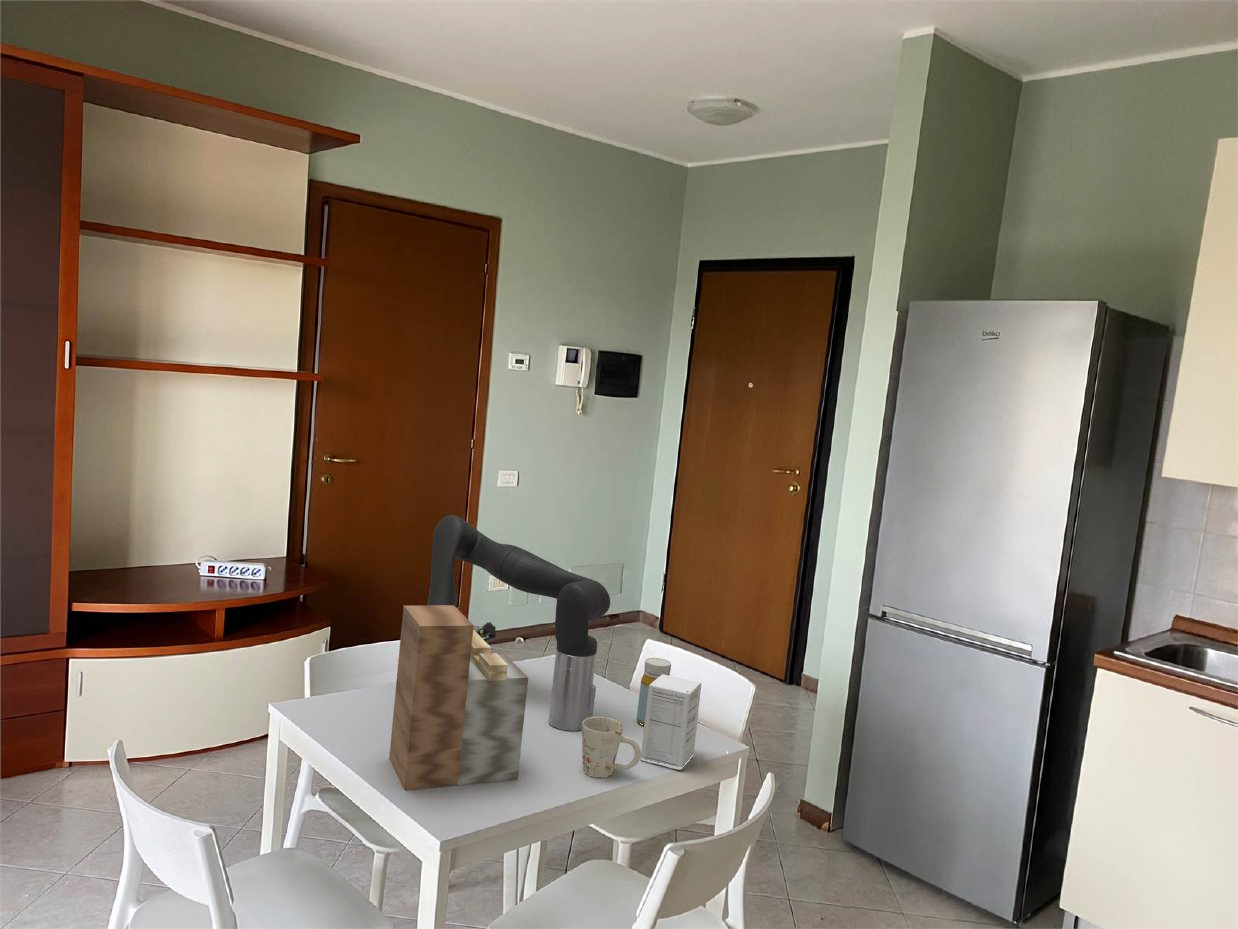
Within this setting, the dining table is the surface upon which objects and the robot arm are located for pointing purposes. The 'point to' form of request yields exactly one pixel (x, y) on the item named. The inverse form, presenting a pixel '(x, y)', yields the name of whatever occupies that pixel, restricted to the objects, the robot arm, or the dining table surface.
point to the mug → (604, 746)
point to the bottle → (651, 673)
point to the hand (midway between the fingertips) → (470, 627)
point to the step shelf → (452, 706)
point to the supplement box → (671, 720)
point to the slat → (487, 660)
